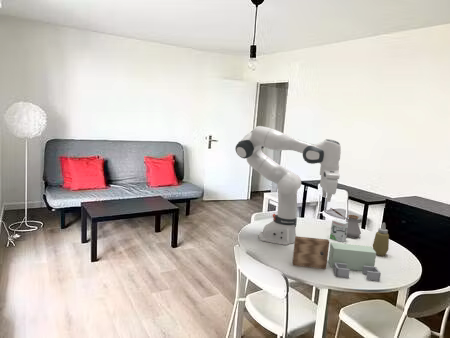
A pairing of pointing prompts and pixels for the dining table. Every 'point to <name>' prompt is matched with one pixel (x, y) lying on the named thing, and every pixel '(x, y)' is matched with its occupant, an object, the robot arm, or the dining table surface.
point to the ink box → (339, 230)
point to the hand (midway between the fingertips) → (326, 199)
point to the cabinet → (353, 260)
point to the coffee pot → (351, 225)
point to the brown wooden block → (310, 252)
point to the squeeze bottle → (381, 241)
